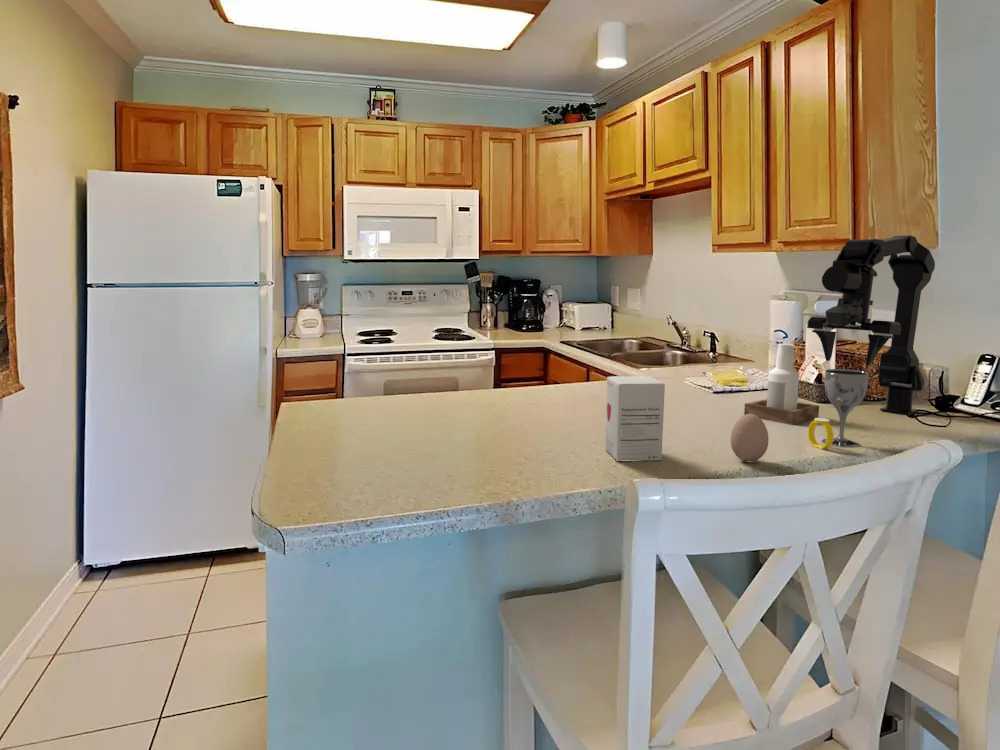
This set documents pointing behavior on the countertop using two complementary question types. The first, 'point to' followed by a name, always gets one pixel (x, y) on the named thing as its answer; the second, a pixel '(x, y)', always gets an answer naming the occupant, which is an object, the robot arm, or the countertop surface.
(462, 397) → the countertop surface
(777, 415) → the collar
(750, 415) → the egg
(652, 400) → the supplement box
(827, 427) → the watch
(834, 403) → the wine glass
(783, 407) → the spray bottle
